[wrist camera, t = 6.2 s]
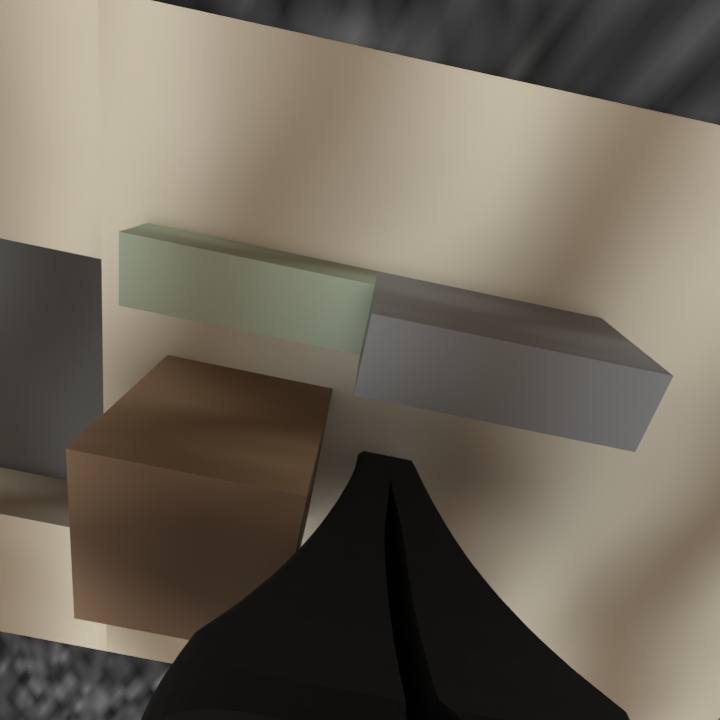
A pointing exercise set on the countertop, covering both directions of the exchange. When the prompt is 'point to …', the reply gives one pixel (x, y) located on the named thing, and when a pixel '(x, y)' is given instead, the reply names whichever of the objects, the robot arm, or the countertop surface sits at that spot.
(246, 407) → the walnut block
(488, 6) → the countertop surface
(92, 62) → the board
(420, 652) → the robot arm
